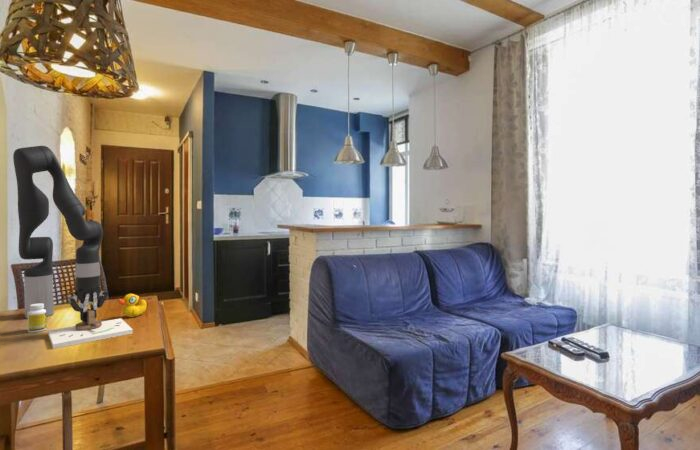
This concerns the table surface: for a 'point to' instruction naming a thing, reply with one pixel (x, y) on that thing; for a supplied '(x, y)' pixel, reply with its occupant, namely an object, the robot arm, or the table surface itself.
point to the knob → (89, 322)
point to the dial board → (88, 333)
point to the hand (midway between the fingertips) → (88, 320)
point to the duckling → (132, 305)
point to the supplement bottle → (37, 318)
